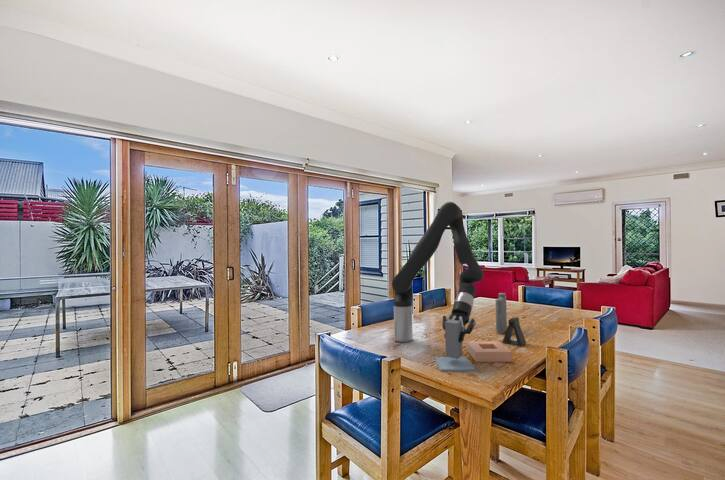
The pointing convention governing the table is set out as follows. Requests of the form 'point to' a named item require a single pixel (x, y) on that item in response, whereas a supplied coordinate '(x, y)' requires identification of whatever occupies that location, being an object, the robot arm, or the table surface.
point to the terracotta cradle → (489, 351)
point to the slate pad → (454, 364)
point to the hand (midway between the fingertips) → (453, 340)
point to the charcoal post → (453, 339)
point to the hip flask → (501, 314)
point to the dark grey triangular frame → (518, 332)
